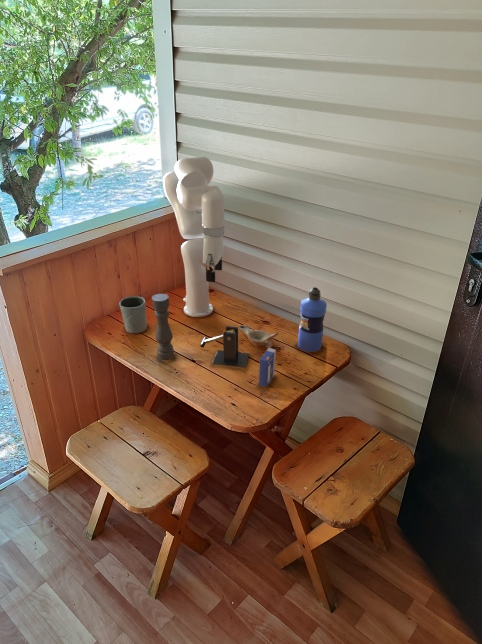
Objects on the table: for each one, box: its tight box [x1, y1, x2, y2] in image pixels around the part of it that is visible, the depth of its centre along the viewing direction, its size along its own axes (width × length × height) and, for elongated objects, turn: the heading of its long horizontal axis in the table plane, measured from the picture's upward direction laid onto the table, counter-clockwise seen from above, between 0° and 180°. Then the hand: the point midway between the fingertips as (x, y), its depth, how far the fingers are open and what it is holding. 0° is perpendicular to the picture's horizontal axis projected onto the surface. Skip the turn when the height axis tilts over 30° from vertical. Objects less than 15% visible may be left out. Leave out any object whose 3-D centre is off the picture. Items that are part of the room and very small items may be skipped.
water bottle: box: [297, 287, 328, 353], centre depth 176 cm, size 9×9×25 cm
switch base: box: [212, 325, 250, 368], centre depth 171 cm, size 12×9×13 cm
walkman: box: [258, 347, 277, 388], centre depth 161 cm, size 8×3×12 cm, turn 156°
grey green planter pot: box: [118, 295, 148, 334], centre depth 191 cm, size 10×10×12 cm
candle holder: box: [151, 293, 175, 363], centre depth 169 cm, size 6×6×25 cm
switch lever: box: [200, 329, 235, 349], centre depth 170 cm, size 13×5×2 cm, turn 79°
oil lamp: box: [238, 324, 280, 349], centre depth 183 cm, size 9×21×10 cm, turn 40°
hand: (214, 275), depth 173 cm, fingers open, 9 cm apart
